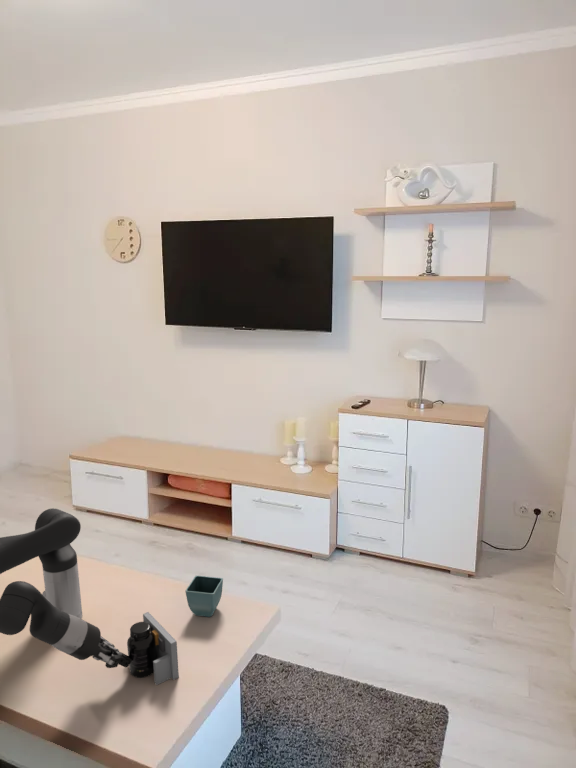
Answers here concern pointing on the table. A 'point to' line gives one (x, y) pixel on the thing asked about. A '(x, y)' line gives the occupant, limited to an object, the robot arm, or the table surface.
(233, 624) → the table surface
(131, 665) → the supplement bottle
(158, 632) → the panel
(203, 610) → the flower pot
